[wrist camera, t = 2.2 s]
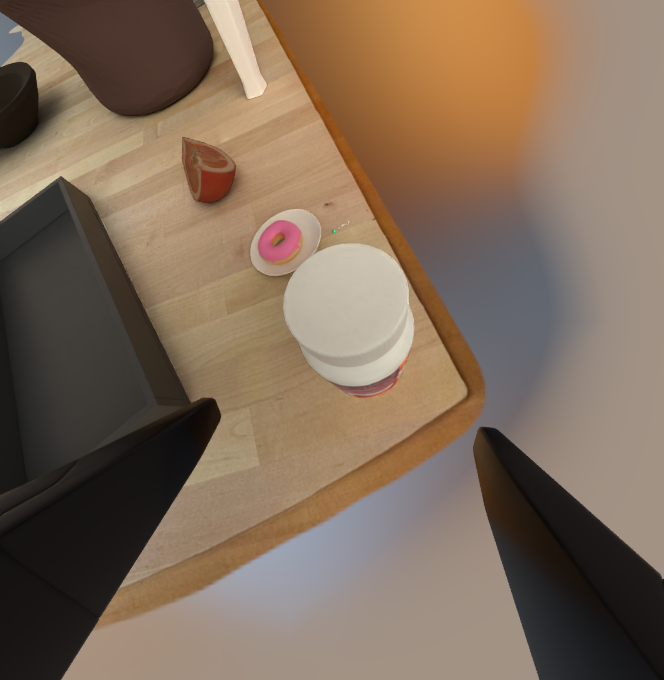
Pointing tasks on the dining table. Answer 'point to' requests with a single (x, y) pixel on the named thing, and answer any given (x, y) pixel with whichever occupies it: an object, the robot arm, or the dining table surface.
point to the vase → (124, 46)
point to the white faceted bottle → (237, 44)
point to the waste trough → (71, 340)
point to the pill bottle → (351, 317)
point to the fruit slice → (207, 170)
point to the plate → (17, 103)
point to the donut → (285, 242)
